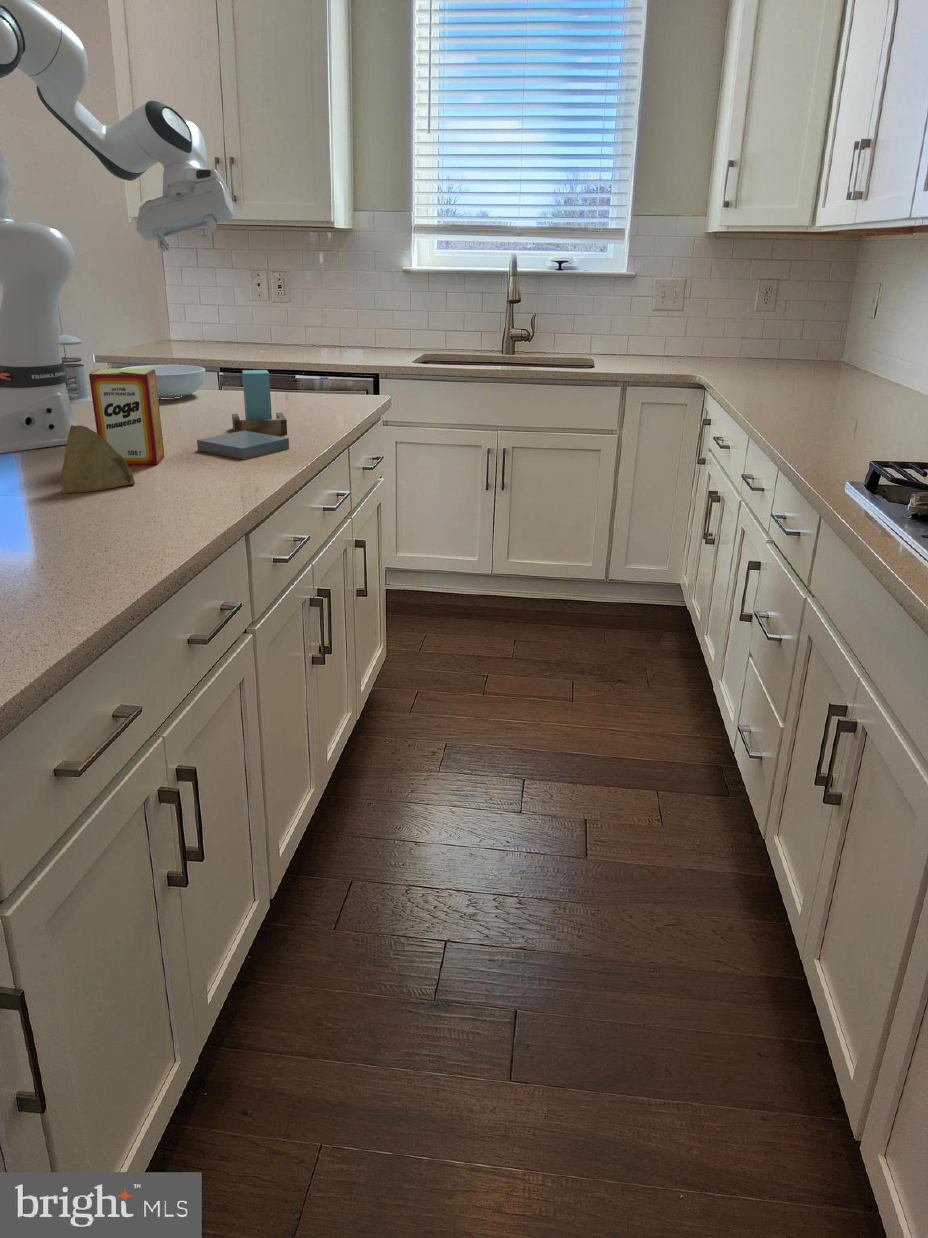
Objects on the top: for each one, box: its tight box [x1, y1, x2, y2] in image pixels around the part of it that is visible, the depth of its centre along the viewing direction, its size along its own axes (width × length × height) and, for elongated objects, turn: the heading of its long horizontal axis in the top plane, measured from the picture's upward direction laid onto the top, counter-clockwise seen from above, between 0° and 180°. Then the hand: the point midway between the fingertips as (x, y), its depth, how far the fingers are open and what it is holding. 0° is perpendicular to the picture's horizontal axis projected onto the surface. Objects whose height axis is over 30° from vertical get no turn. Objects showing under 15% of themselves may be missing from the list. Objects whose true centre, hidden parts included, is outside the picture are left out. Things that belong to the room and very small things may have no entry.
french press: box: [58, 295, 93, 405], centre depth 214 cm, size 10×12×25 cm
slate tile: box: [196, 430, 290, 460], centre depth 172 cm, size 12×12×2 cm
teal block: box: [241, 369, 273, 420], centre depth 187 cm, size 5×5×12 cm
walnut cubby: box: [231, 411, 288, 436], centre depth 188 cm, size 10×9×3 cm
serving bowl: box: [120, 364, 206, 399], centre depth 225 cm, size 21×21×7 cm
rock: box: [61, 424, 136, 495], centre depth 143 cm, size 11×9×10 cm
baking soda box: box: [88, 367, 165, 467], centre depth 159 cm, size 10×6×16 cm
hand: (184, 244), depth 183 cm, fingers open, 8 cm apart
